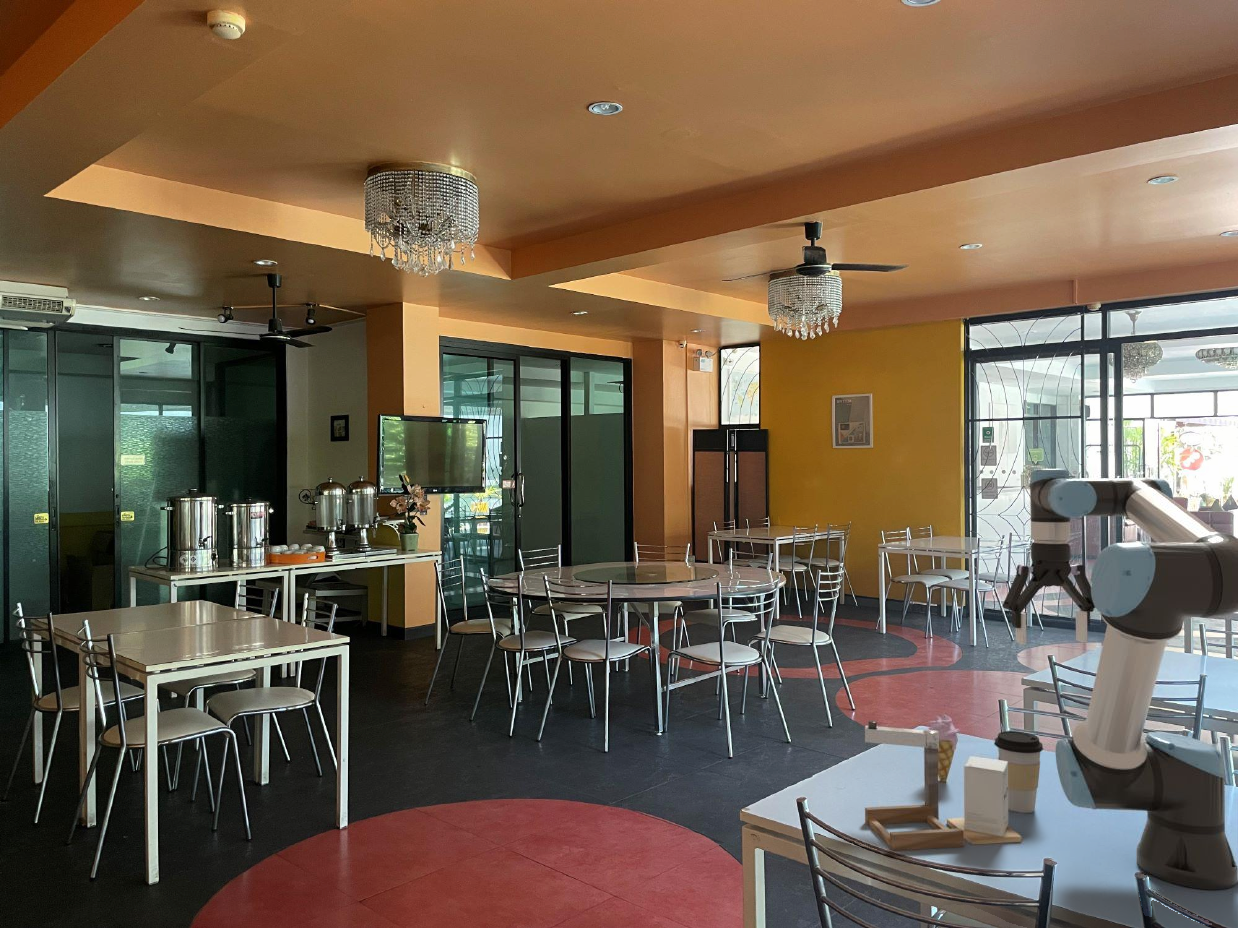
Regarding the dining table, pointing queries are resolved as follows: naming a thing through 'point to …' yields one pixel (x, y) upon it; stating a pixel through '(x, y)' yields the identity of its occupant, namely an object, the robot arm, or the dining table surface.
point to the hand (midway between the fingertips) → (1051, 642)
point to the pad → (983, 834)
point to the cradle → (917, 817)
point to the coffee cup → (1020, 768)
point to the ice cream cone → (945, 744)
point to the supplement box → (986, 795)
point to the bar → (901, 736)
